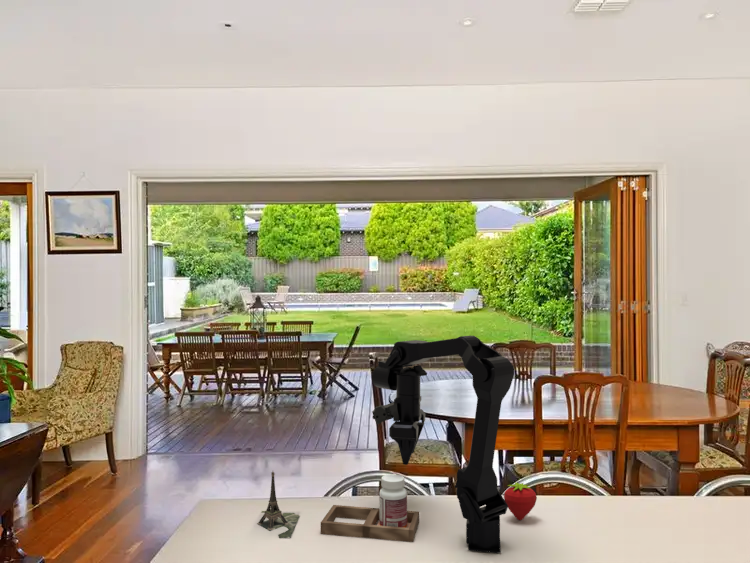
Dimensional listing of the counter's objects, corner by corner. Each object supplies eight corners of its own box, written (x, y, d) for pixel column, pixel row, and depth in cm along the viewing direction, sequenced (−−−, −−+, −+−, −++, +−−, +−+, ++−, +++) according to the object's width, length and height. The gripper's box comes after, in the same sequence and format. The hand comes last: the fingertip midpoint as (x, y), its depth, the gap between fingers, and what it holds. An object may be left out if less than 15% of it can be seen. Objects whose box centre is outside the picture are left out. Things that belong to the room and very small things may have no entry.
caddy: (419, 522, 132) (419, 511, 132) (413, 542, 121) (413, 530, 121) (333, 515, 136) (333, 504, 136) (320, 533, 125) (320, 522, 125)
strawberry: (540, 525, 130) (540, 481, 130) (507, 526, 130) (507, 481, 130) (532, 515, 136) (532, 472, 136) (500, 515, 136) (500, 473, 136)
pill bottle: (412, 529, 127) (412, 477, 127) (393, 537, 123) (393, 484, 123) (392, 520, 132) (392, 471, 132) (373, 528, 127) (373, 477, 128)
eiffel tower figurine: (291, 541, 123) (291, 478, 123) (244, 540, 123) (244, 478, 123) (302, 513, 138) (301, 458, 138) (260, 513, 138) (260, 457, 138)
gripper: (382, 385, 148) (382, 446, 148) (367, 399, 130) (367, 468, 129) (425, 387, 146) (425, 448, 146) (416, 401, 127) (416, 471, 127)
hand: (408, 458), depth 137 cm, fingers open, 9 cm apart
